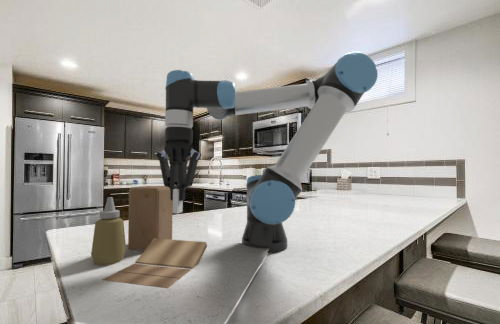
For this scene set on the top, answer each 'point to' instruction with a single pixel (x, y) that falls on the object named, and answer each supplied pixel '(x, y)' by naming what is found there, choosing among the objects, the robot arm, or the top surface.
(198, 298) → the top surface
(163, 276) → the floorboard
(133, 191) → the wooden block
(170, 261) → the plank
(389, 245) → the top surface
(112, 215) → the squeeze bottle
